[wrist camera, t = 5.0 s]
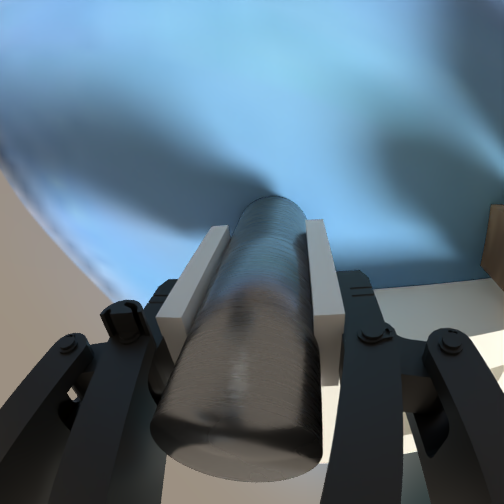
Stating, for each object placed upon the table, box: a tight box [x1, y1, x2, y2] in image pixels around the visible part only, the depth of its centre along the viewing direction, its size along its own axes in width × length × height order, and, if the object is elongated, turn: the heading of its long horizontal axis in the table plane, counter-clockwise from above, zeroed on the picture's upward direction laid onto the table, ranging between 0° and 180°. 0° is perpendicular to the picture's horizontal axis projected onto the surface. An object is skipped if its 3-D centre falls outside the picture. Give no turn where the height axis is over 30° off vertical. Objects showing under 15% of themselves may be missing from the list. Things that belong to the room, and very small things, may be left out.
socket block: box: [319, 278, 504, 464], centre depth 17 cm, size 12×14×5 cm
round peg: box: [150, 196, 323, 482], centre depth 11 cm, size 4×4×12 cm
